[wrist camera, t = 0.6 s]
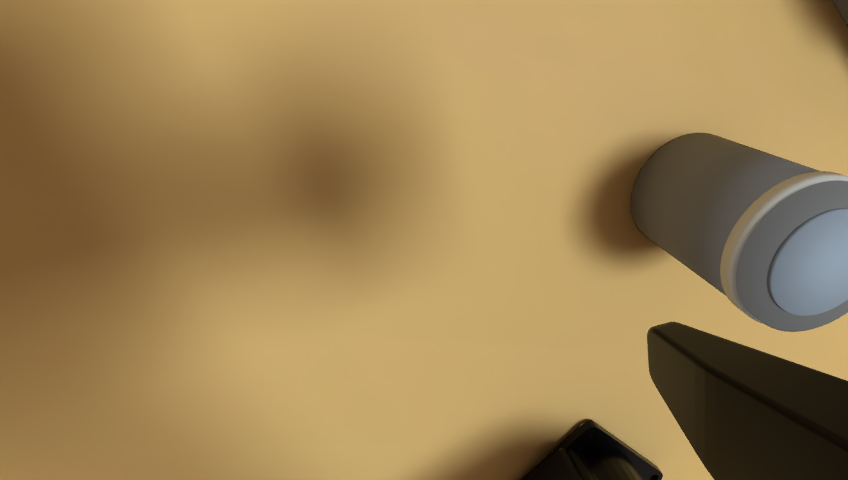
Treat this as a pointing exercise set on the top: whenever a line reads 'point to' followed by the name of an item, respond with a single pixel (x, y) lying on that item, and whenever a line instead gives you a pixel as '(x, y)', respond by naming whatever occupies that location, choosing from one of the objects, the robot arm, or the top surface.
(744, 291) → the lens
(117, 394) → the top surface
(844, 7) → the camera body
